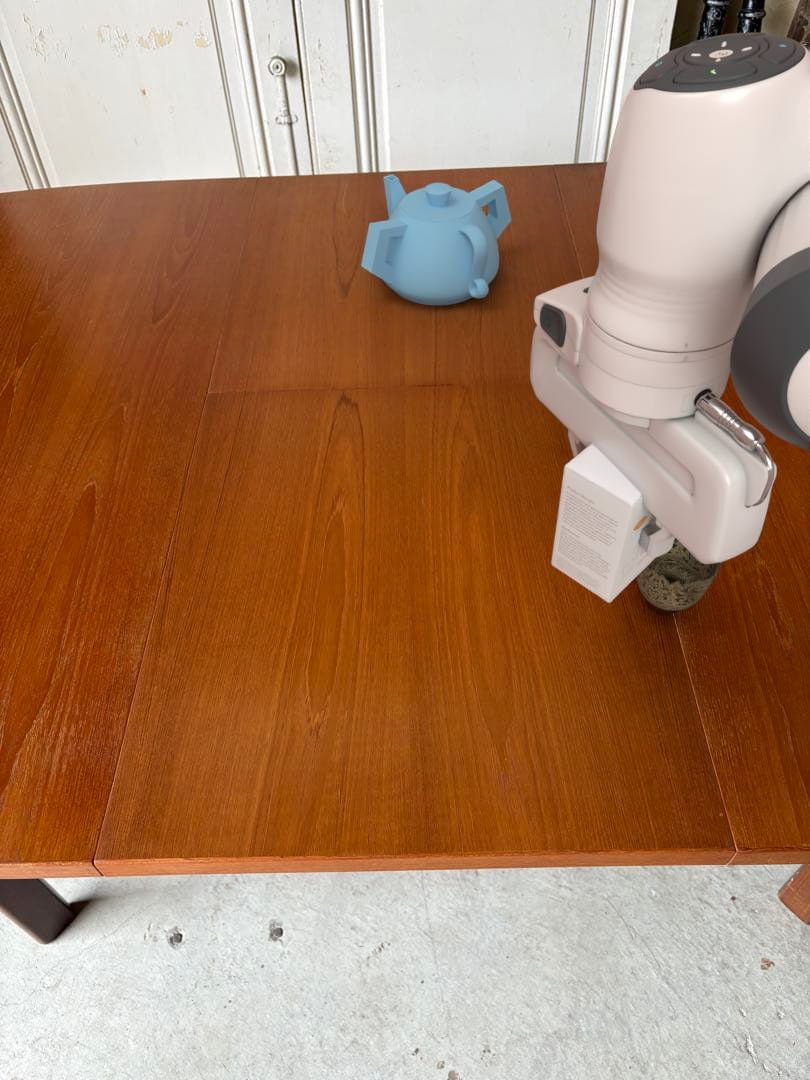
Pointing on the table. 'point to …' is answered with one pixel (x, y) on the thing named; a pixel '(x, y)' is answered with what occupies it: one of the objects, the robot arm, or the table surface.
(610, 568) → the small box
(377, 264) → the teapot
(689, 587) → the cup
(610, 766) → the table surface
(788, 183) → the robot arm
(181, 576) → the table surface
